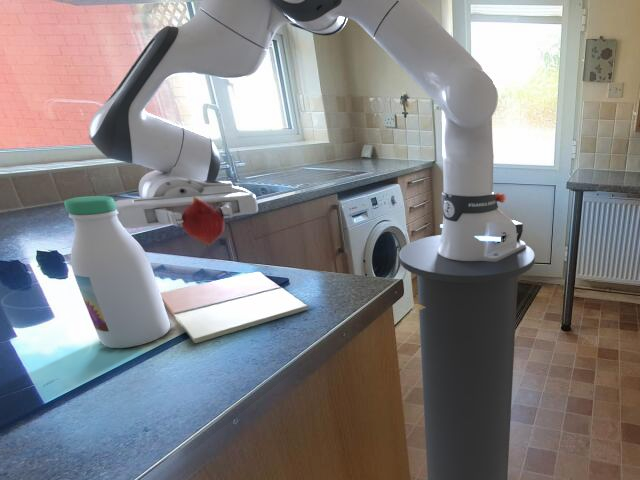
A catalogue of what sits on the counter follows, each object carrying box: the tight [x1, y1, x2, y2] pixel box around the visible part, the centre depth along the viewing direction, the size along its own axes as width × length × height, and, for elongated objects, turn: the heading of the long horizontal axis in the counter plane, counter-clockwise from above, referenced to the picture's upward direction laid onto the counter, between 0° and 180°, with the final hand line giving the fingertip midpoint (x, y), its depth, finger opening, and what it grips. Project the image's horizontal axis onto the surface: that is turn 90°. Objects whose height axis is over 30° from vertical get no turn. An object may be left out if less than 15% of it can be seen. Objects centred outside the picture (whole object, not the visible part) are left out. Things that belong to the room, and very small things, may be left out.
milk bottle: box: [63, 195, 171, 349], centre depth 56 cm, size 8×8×20 cm
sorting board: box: [160, 271, 309, 344], centre depth 70 cm, size 16×22×1 cm
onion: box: [182, 197, 226, 245], centre depth 69 cm, size 6×6×8 cm
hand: (203, 216), depth 68 cm, fingers closed on onion, 5 cm apart
